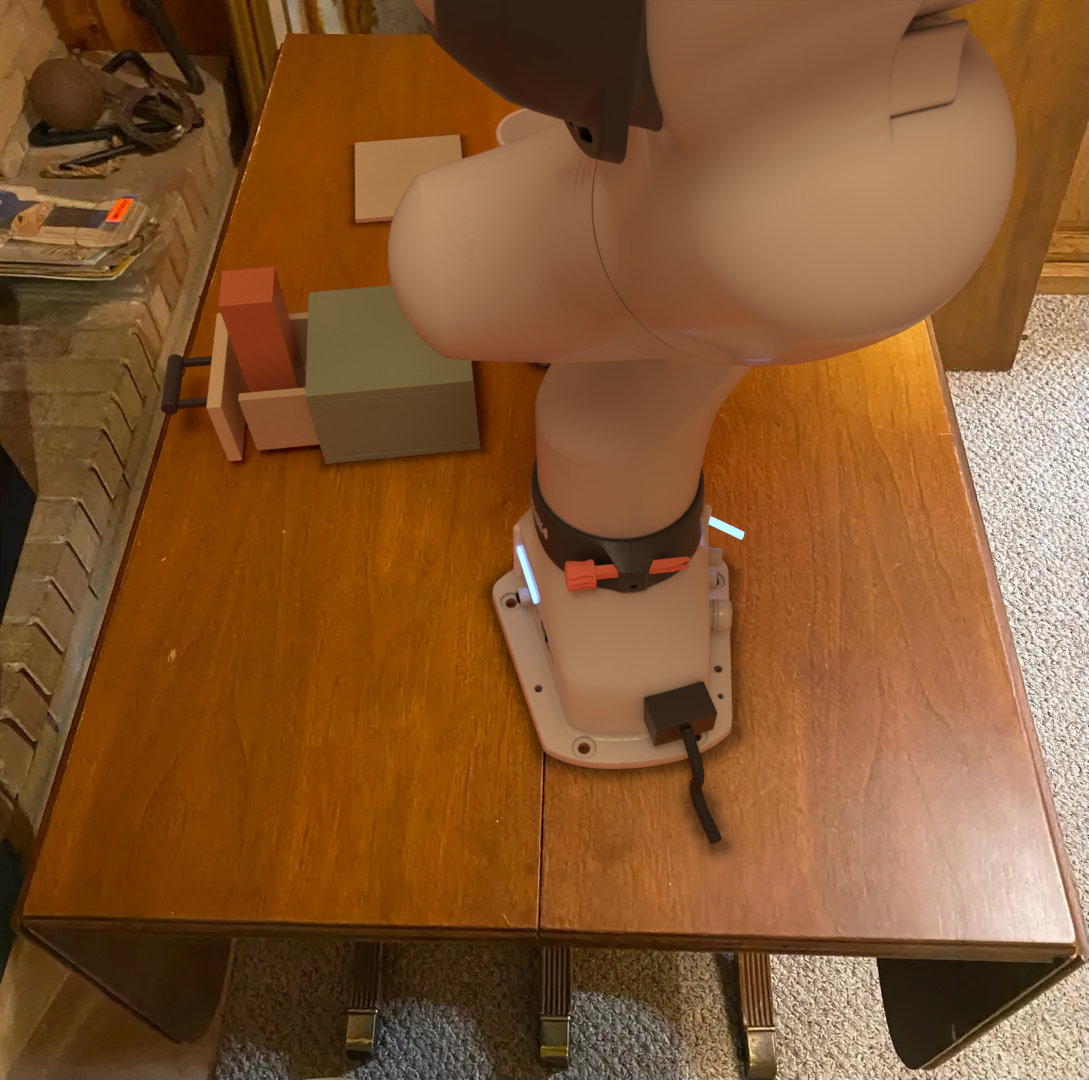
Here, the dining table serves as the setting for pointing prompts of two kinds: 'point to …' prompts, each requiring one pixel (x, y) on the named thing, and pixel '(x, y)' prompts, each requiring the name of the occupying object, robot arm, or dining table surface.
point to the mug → (521, 125)
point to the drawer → (244, 398)
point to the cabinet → (382, 382)
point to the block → (260, 329)
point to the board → (395, 171)
